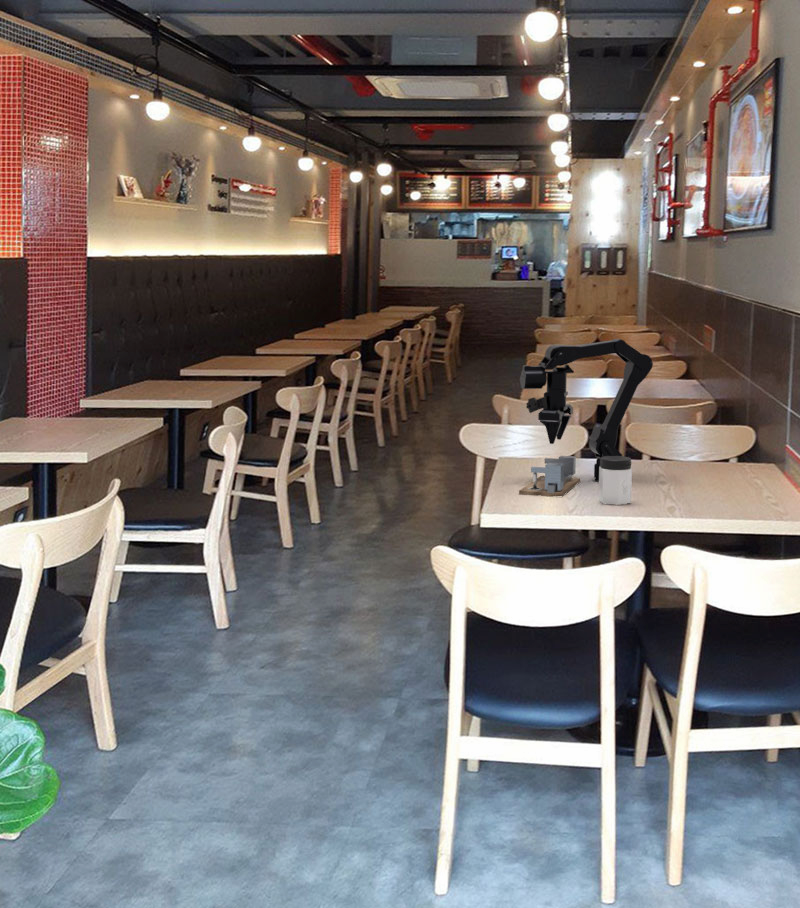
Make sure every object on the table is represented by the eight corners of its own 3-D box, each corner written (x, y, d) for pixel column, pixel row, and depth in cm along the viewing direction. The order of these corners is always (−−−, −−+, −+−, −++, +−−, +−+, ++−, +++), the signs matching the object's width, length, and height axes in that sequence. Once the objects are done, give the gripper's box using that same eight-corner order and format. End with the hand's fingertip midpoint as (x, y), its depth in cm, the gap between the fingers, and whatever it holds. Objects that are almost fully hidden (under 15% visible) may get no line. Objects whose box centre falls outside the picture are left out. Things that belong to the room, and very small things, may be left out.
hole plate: (580, 481, 343) (580, 477, 343) (561, 497, 320) (561, 492, 320) (540, 479, 347) (540, 475, 347) (519, 494, 324) (519, 490, 324)
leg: (563, 488, 325) (564, 463, 324) (560, 490, 322) (560, 466, 321) (533, 486, 328) (533, 462, 327) (529, 488, 325) (530, 464, 324)
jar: (613, 506, 307) (614, 461, 305) (591, 501, 314) (593, 457, 312) (637, 502, 312) (639, 458, 310) (616, 497, 318) (617, 454, 317)
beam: (576, 479, 341) (576, 455, 340) (558, 493, 320) (559, 468, 319) (546, 477, 344) (547, 454, 343) (527, 491, 323) (528, 466, 322)
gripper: (537, 384, 350) (536, 436, 352) (521, 390, 332) (520, 444, 335) (573, 385, 346) (572, 437, 348) (559, 392, 329) (558, 446, 331)
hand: (555, 441), depth 341 cm, fingers open, 9 cm apart
